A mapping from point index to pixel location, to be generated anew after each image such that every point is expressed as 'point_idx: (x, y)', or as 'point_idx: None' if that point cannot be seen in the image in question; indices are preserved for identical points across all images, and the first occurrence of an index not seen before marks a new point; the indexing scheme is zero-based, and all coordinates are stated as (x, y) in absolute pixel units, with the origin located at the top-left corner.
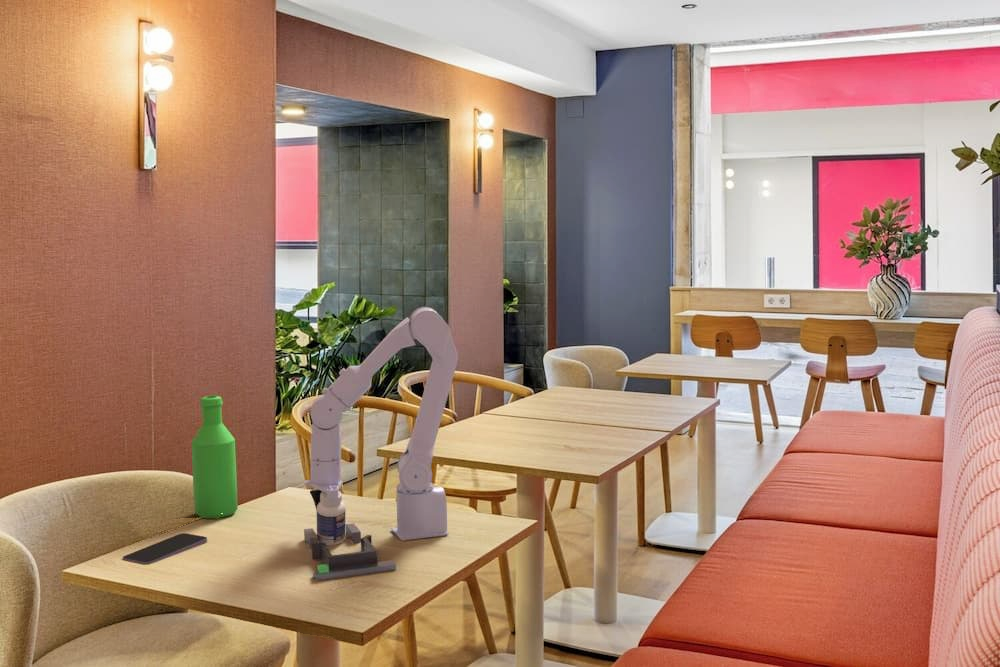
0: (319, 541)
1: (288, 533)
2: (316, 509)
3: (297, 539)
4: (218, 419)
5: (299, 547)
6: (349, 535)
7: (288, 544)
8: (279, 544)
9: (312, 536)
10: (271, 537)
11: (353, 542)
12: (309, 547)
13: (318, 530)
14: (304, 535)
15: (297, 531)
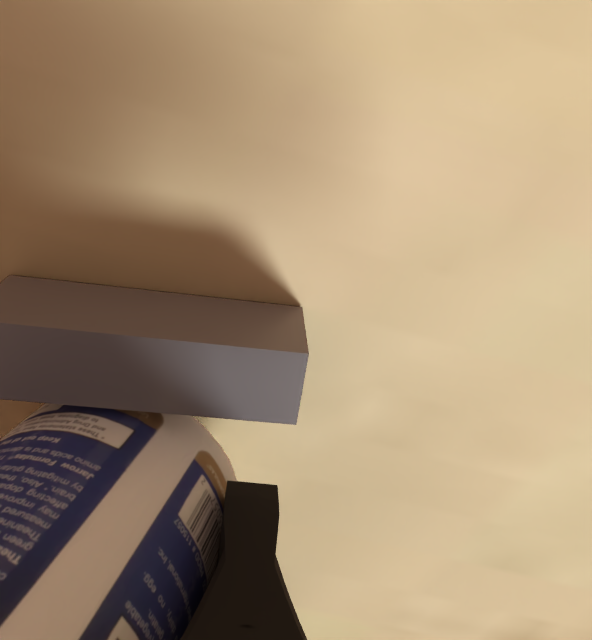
0: None
1: (563, 236)
2: (256, 633)
3: (340, 256)
4: None
5: (88, 202)
6: None
7: (233, 135)
8: (280, 47)
9: (11, 357)
10: (565, 42)
11: None
12: (33, 278)
13: (25, 447)
14: (291, 323)
15: (560, 319)
